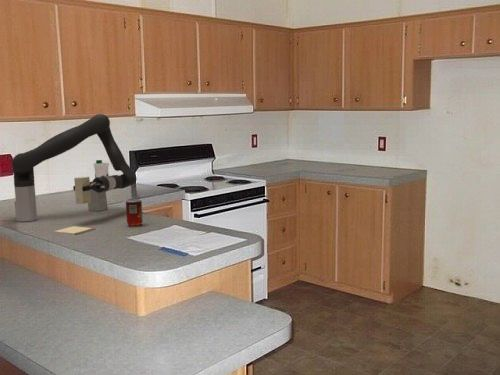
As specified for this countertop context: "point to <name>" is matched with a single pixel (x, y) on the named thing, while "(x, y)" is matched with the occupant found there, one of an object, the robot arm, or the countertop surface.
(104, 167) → the milk carton
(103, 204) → the skincare box
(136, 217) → the soda can
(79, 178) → the skincare box
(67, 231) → the notepad
